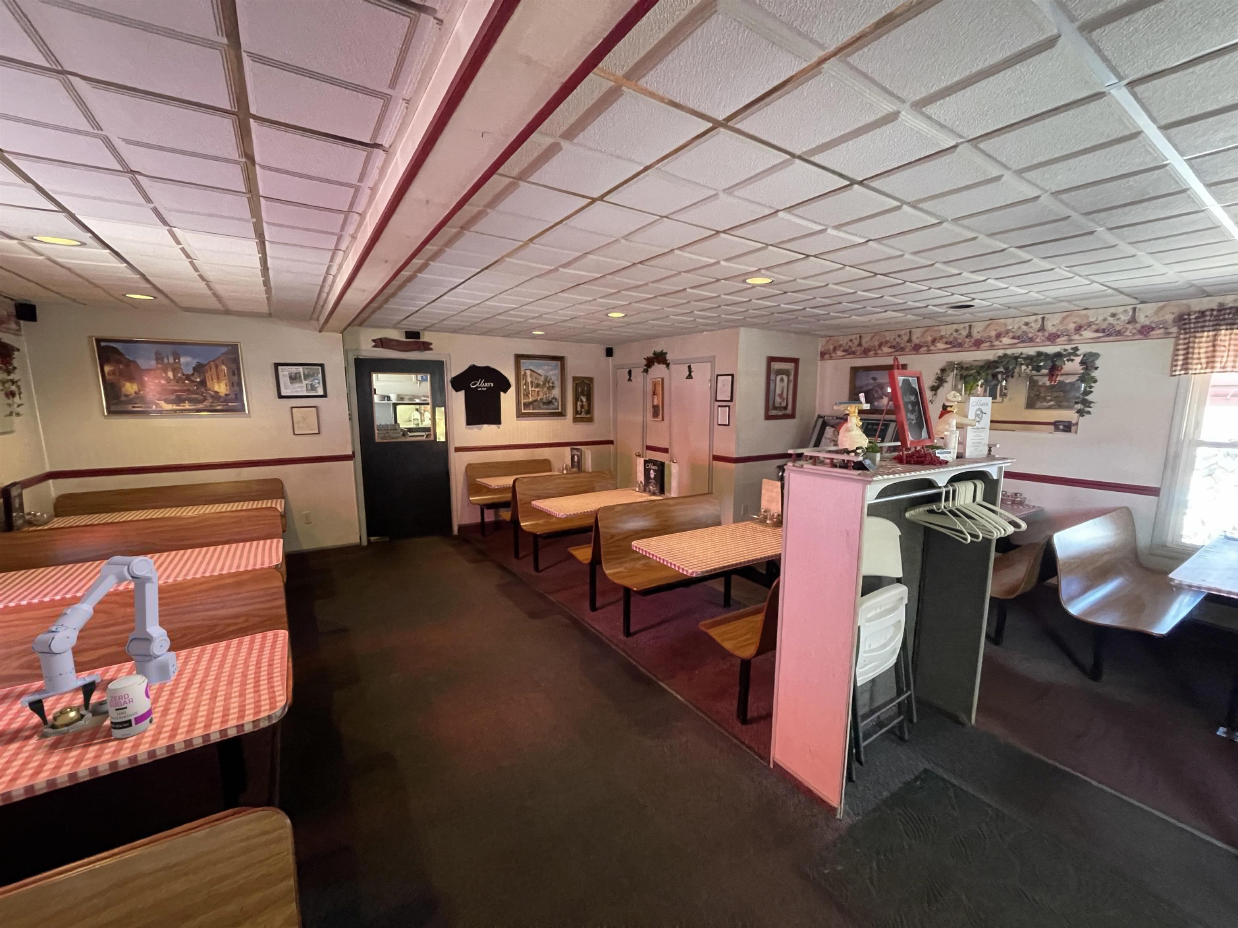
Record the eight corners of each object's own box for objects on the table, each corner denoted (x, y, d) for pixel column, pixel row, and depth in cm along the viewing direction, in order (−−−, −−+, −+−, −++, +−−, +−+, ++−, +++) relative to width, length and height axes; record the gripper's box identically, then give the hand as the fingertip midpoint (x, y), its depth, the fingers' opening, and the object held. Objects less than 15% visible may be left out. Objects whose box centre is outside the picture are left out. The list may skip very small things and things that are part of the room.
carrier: (127, 696, 149) (126, 686, 148) (101, 727, 135) (99, 716, 134) (69, 708, 143) (67, 697, 142) (35, 742, 129) (33, 730, 128)
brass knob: (82, 717, 138) (80, 700, 138) (79, 725, 135) (77, 709, 134) (56, 724, 135) (54, 708, 134) (52, 733, 131) (49, 716, 131)
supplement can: (151, 716, 140) (144, 669, 138) (155, 728, 135) (148, 679, 133) (111, 730, 134) (103, 682, 132) (114, 744, 128) (106, 693, 126)
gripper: (94, 656, 141) (101, 697, 143) (16, 679, 129) (24, 724, 131) (99, 663, 137) (105, 706, 139) (18, 688, 125) (27, 734, 127)
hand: (66, 716), depth 134 cm, fingers open, 7 cm apart
